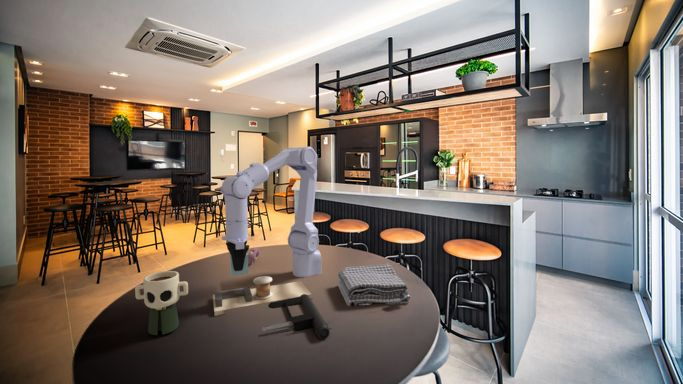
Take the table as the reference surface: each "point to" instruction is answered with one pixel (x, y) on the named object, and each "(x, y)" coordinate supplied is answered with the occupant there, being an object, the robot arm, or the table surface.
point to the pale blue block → (245, 267)
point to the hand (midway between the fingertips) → (237, 268)
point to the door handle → (300, 318)
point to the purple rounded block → (253, 255)
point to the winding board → (276, 296)
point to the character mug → (162, 300)
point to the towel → (372, 285)
